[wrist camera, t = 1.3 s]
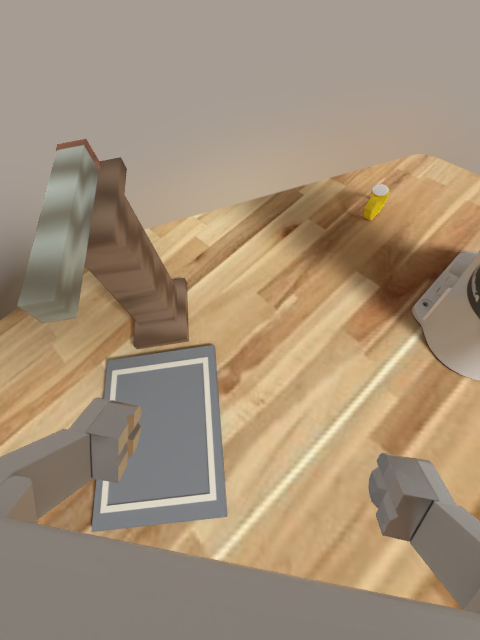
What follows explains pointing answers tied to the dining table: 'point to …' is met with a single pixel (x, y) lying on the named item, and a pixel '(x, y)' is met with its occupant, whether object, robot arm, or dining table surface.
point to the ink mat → (166, 442)
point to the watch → (376, 201)
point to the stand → (133, 264)
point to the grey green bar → (62, 236)
